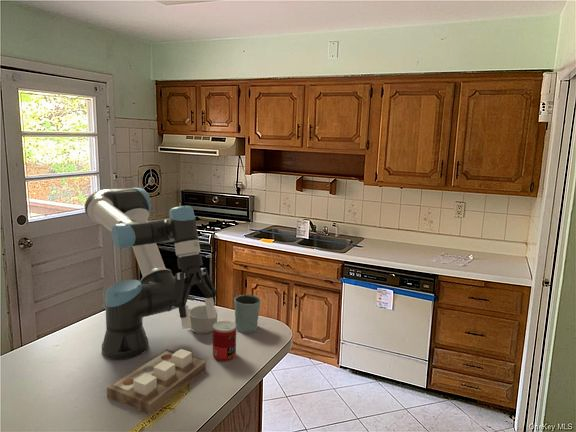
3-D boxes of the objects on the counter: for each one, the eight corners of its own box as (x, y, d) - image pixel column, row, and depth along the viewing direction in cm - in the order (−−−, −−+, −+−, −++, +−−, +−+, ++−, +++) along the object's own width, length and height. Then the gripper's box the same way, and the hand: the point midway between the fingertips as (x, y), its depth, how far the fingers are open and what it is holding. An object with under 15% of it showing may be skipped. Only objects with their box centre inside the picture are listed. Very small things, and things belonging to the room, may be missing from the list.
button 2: (171, 367, 134) (171, 355, 133) (180, 361, 138) (180, 348, 137) (182, 371, 132) (182, 358, 131) (191, 365, 136) (191, 352, 135)
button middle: (153, 380, 127) (153, 367, 126) (163, 373, 131) (163, 360, 130) (165, 384, 125) (165, 371, 124) (175, 377, 129) (175, 364, 128)
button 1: (133, 394, 120) (133, 380, 119) (144, 386, 124) (144, 372, 123) (145, 399, 118) (145, 385, 117) (156, 391, 122) (156, 377, 121)
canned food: (231, 362, 142) (232, 332, 140) (208, 359, 144) (209, 328, 141) (238, 351, 149) (239, 322, 147) (217, 348, 151) (217, 319, 149)
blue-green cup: (229, 325, 169) (229, 297, 167) (251, 320, 175) (252, 292, 172) (241, 336, 161) (242, 306, 159) (264, 330, 167) (265, 301, 164)
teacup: (223, 329, 166) (223, 309, 164) (203, 339, 157) (203, 319, 155) (196, 319, 173) (196, 301, 172) (176, 329, 164) (176, 309, 163)
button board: (107, 396, 121) (106, 386, 121) (166, 357, 144) (166, 348, 143) (150, 414, 115) (150, 403, 114) (205, 369, 137) (205, 360, 136)
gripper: (173, 256, 121) (185, 331, 119) (219, 250, 144) (230, 313, 142) (152, 260, 124) (164, 334, 122) (201, 254, 147) (211, 315, 145)
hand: (200, 323), depth 132 cm, fingers open, 13 cm apart
